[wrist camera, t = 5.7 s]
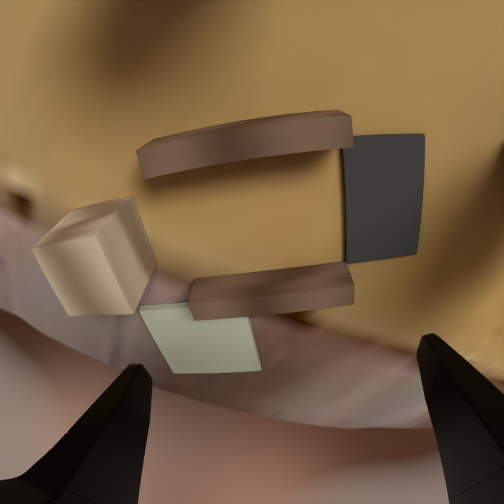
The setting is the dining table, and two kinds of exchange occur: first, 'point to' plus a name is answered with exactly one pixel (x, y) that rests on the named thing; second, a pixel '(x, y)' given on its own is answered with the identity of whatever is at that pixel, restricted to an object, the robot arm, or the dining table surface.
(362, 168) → the tile
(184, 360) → the sage coaster
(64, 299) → the beech block
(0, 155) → the dining table surface
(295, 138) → the walnut channel
